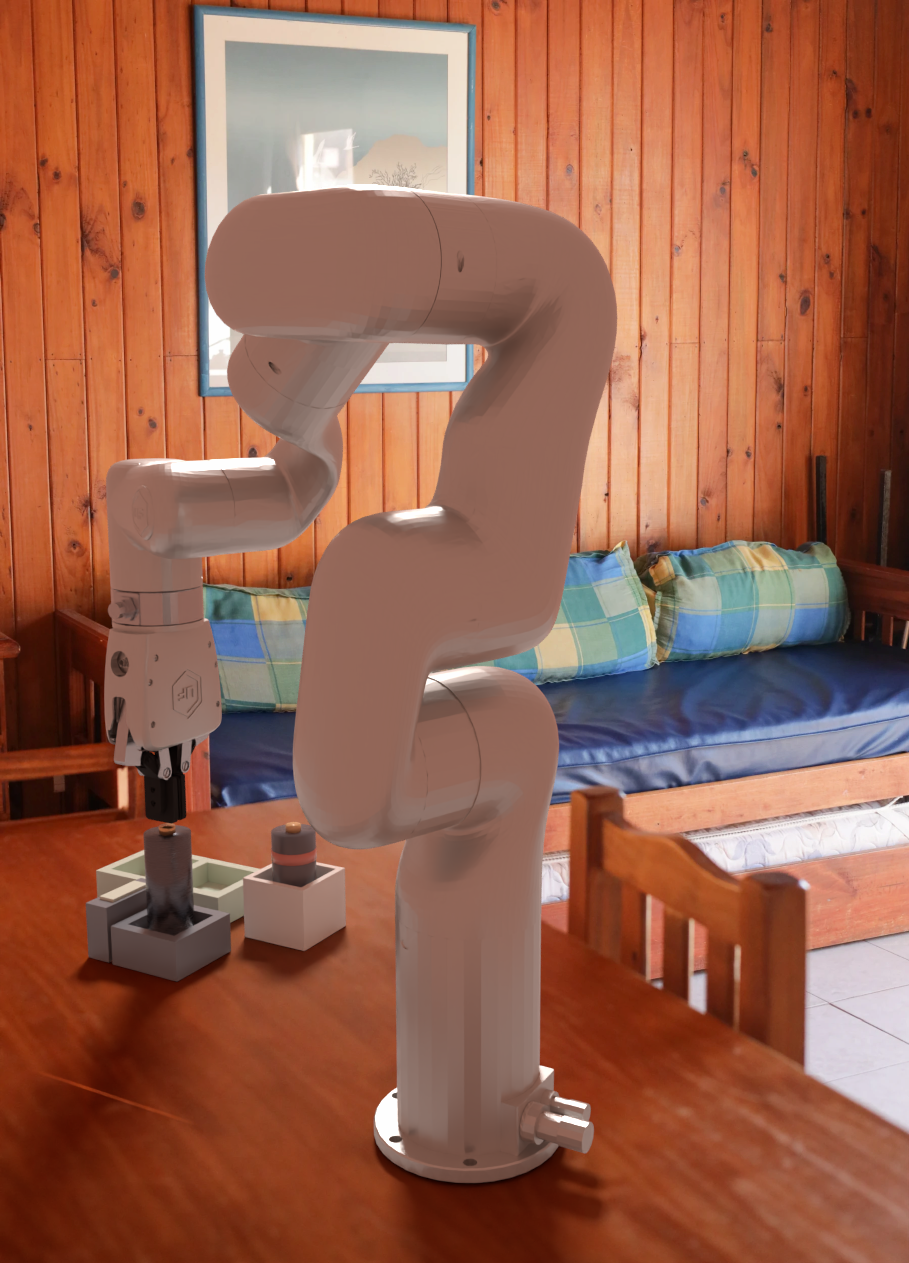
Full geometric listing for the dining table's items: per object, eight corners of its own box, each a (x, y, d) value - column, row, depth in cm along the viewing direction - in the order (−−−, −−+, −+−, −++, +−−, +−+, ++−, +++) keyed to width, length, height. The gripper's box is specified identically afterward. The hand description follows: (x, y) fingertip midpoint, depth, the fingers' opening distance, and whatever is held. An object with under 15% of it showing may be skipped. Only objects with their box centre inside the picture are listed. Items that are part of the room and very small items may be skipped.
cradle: (231, 951, 119) (229, 894, 119) (177, 981, 113) (174, 922, 112) (144, 929, 124) (141, 875, 123) (87, 957, 118) (84, 900, 117)
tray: (271, 900, 131) (270, 871, 131) (219, 929, 124) (217, 898, 124) (153, 874, 138) (152, 846, 138) (97, 899, 132) (96, 870, 131)
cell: (204, 928, 118) (200, 823, 117) (173, 944, 115) (169, 836, 113) (169, 919, 120) (164, 816, 119) (138, 935, 117) (133, 828, 115)
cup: (345, 925, 125) (344, 819, 123) (304, 951, 119) (301, 840, 118) (287, 912, 128) (285, 809, 126) (244, 936, 123) (241, 829, 121)
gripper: (129, 625, 104) (139, 852, 108) (249, 599, 117) (254, 802, 121) (58, 617, 108) (70, 837, 111) (182, 592, 121) (189, 790, 124)
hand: (166, 818), depth 116 cm, fingers closed
